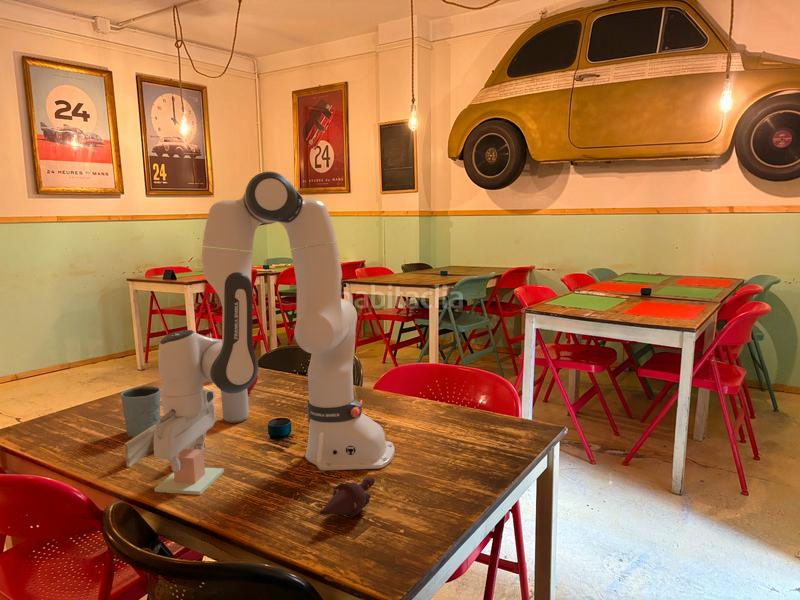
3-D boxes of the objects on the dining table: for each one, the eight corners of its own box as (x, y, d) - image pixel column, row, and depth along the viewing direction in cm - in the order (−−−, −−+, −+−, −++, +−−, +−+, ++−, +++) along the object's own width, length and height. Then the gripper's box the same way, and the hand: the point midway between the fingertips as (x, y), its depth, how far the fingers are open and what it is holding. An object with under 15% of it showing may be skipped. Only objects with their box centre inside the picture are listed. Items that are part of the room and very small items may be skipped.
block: (205, 473, 130) (203, 449, 129) (195, 483, 126) (193, 458, 125) (185, 472, 131) (183, 448, 130) (174, 482, 127) (172, 457, 126)
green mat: (224, 471, 133) (223, 468, 133) (200, 494, 122) (200, 491, 122) (181, 469, 135) (181, 466, 135) (154, 491, 124) (154, 488, 124)
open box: (205, 447, 147) (203, 425, 146) (177, 469, 135) (175, 446, 134) (157, 444, 149) (155, 423, 149) (126, 466, 137) (124, 443, 136)
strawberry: (250, 396, 187) (248, 367, 185) (234, 393, 190) (232, 365, 189) (263, 391, 192) (261, 363, 191) (246, 388, 196) (244, 360, 194)
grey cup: (121, 431, 159) (116, 391, 158) (157, 422, 166) (153, 383, 164) (130, 442, 152) (126, 399, 150) (169, 432, 158) (165, 391, 156)
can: (252, 414, 170) (250, 376, 168) (243, 424, 163) (240, 384, 161) (229, 414, 171) (226, 376, 169) (219, 423, 164) (215, 384, 162)
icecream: (337, 508, 104) (388, 482, 115) (311, 487, 108) (362, 465, 120) (330, 539, 105) (381, 511, 117) (304, 517, 110) (356, 492, 121)
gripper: (170, 420, 115) (176, 483, 117) (218, 389, 135) (222, 443, 137) (142, 419, 116) (149, 481, 118) (194, 388, 136) (198, 441, 138)
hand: (188, 460), depth 128 cm, fingers open, 8 cm apart
